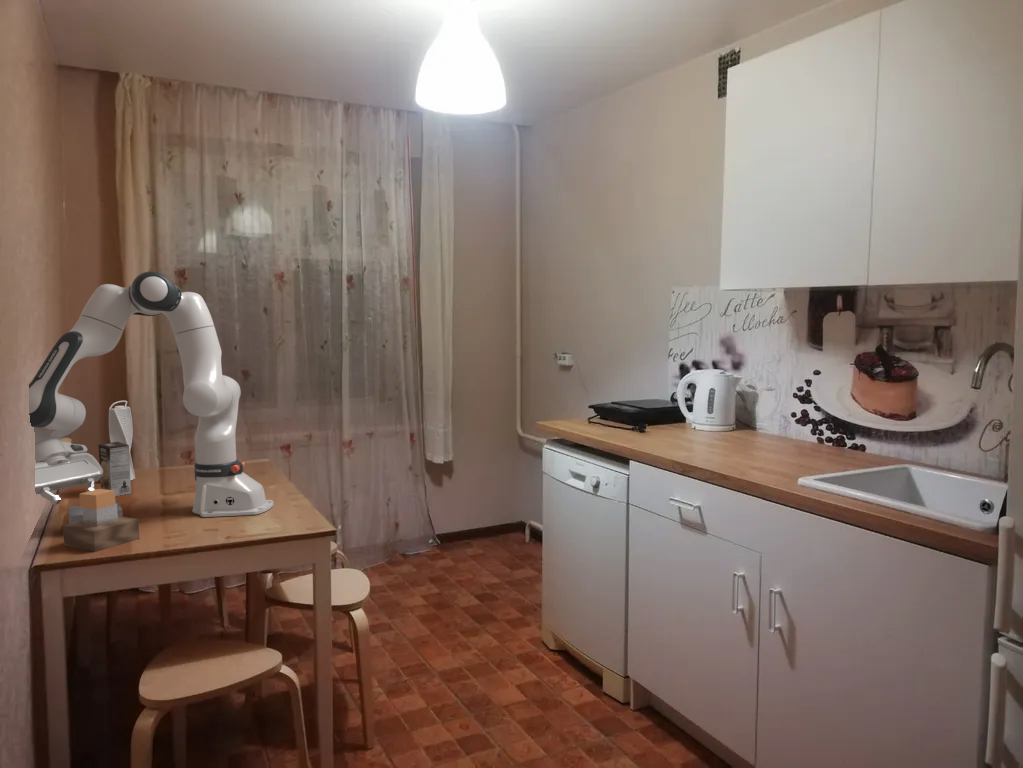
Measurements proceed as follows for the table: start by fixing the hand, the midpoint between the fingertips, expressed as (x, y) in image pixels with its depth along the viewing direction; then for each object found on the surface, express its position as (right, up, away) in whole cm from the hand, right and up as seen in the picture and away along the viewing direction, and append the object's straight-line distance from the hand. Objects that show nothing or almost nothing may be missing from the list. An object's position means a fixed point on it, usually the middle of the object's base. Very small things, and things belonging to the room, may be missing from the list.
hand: (75, 498), depth 193 cm
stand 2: (+9, -10, -3) cm, 14 cm away
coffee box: (-15, -6, +49) cm, 52 cm away
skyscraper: (-23, -5, +68) cm, 71 cm away
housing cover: (+9, -1, -5) cm, 10 cm away
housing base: (+9, -5, -4) cm, 11 cm away
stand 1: (-1, -9, +11) cm, 14 cm away
